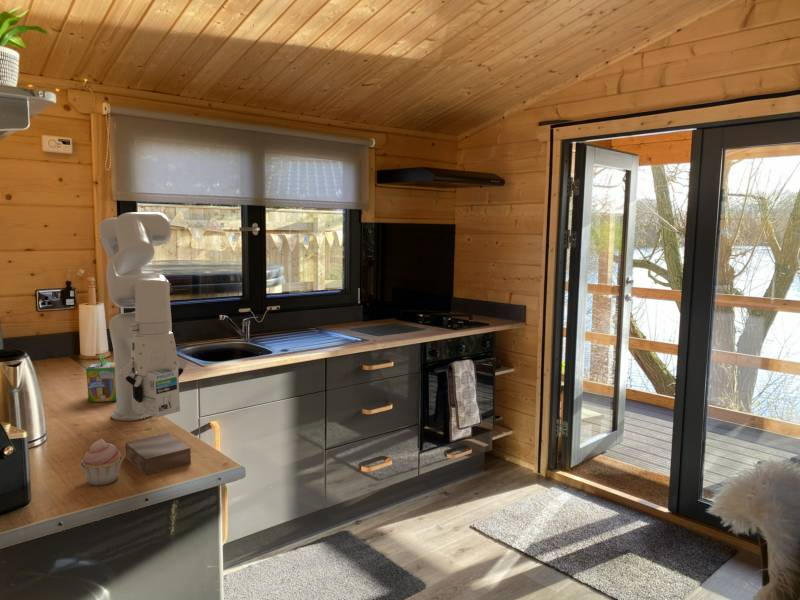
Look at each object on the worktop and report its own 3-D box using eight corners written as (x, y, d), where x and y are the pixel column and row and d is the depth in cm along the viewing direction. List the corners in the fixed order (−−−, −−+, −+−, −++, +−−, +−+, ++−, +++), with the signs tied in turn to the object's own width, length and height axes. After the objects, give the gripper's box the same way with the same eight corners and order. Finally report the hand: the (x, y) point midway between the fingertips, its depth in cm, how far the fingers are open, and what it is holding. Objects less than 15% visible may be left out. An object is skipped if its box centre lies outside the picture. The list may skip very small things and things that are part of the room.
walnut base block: (125, 457, 160) (125, 442, 159) (168, 447, 167) (168, 432, 167) (146, 475, 150) (145, 459, 149) (190, 463, 157) (190, 448, 156)
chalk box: (117, 401, 206) (115, 357, 204) (87, 403, 204) (85, 358, 202) (123, 393, 215) (121, 351, 213) (94, 395, 213) (92, 352, 211)
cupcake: (131, 472, 151) (130, 432, 150) (112, 489, 142) (110, 447, 140) (93, 471, 151) (91, 431, 150) (72, 488, 142) (69, 445, 141)
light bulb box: (181, 411, 156) (179, 369, 155) (157, 418, 151) (155, 374, 149) (155, 404, 162) (153, 363, 161) (131, 410, 157) (129, 368, 155)
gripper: (121, 334, 145) (124, 408, 148) (193, 326, 157) (195, 395, 159) (110, 330, 151) (113, 401, 153) (181, 322, 162) (183, 388, 165)
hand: (155, 397), depth 156 cm, fingers closed on light bulb box, 7 cm apart
